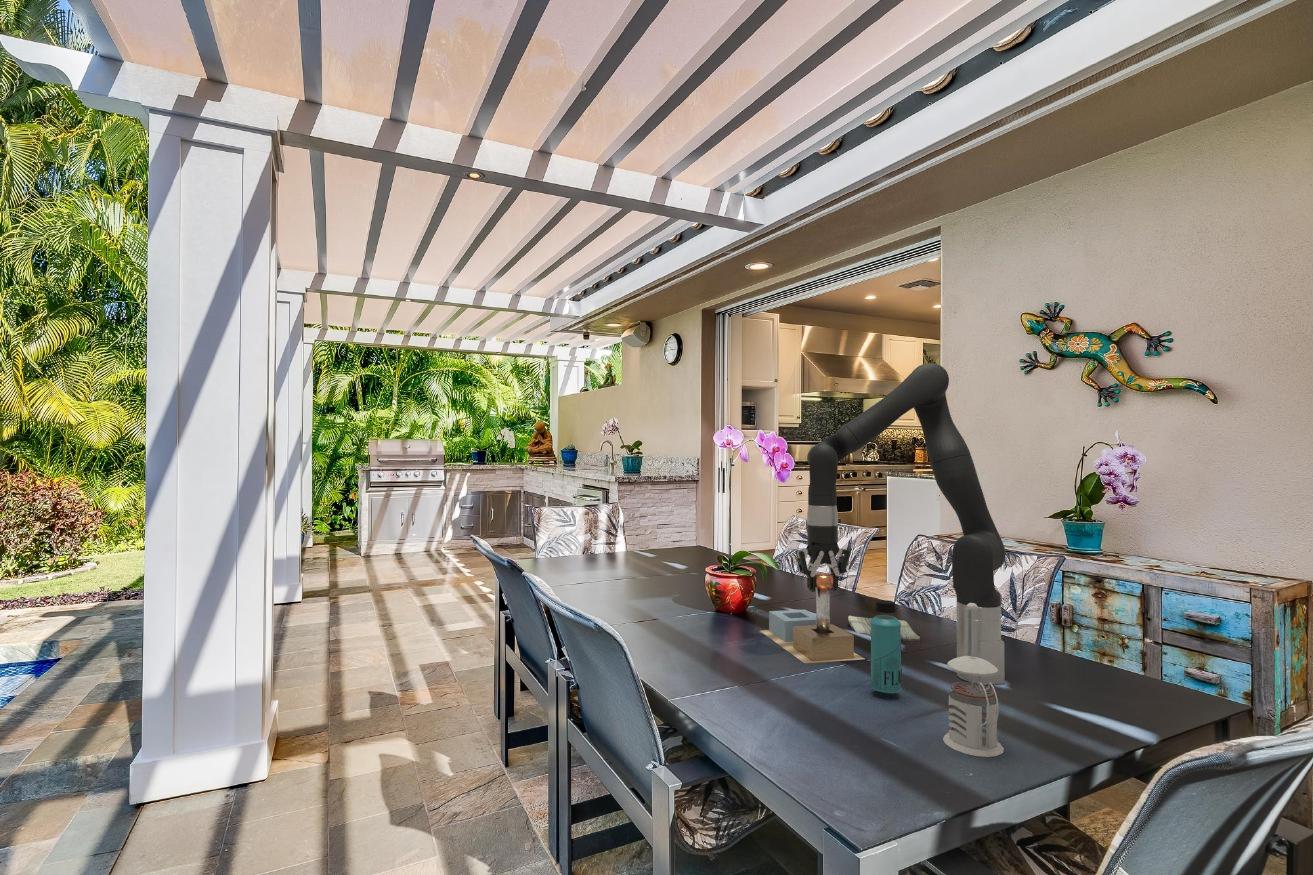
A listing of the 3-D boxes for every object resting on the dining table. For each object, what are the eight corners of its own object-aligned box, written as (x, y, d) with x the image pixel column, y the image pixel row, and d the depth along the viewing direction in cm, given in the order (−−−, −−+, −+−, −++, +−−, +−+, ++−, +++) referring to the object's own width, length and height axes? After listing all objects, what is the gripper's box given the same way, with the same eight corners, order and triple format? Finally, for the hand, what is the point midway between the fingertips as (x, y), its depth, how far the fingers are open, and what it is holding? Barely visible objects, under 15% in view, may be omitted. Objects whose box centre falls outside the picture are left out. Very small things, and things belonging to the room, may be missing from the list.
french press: (984, 731, 120) (984, 596, 121) (1022, 761, 109) (1021, 612, 109) (933, 732, 120) (932, 596, 120) (965, 762, 108) (964, 612, 109)
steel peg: (837, 636, 160) (837, 575, 161) (818, 637, 159) (818, 576, 159) (827, 631, 165) (827, 572, 166) (808, 632, 164) (808, 572, 164)
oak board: (865, 665, 158) (865, 659, 158) (804, 669, 154) (804, 663, 154) (811, 632, 186) (811, 627, 186) (759, 635, 182) (759, 630, 182)
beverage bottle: (881, 702, 134) (881, 605, 135) (863, 690, 141) (863, 598, 141) (908, 699, 136) (908, 603, 136) (889, 688, 142) (889, 596, 143)
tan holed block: (853, 658, 158) (853, 635, 158) (812, 661, 156) (812, 638, 156) (832, 645, 169) (832, 624, 169) (793, 647, 166) (793, 626, 167)
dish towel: (922, 644, 177) (922, 632, 177) (855, 640, 180) (855, 629, 180) (907, 626, 196) (907, 615, 196) (846, 623, 199) (846, 612, 199)
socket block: (823, 639, 174) (823, 619, 174) (785, 642, 171) (785, 621, 171) (805, 628, 184) (805, 609, 185) (769, 630, 182) (769, 611, 182)
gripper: (802, 525, 158) (803, 595, 157) (856, 524, 161) (856, 592, 160) (789, 522, 165) (790, 589, 164) (840, 521, 168) (841, 586, 168)
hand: (822, 590), depth 162 cm, fingers closed on steel peg, 5 cm apart
